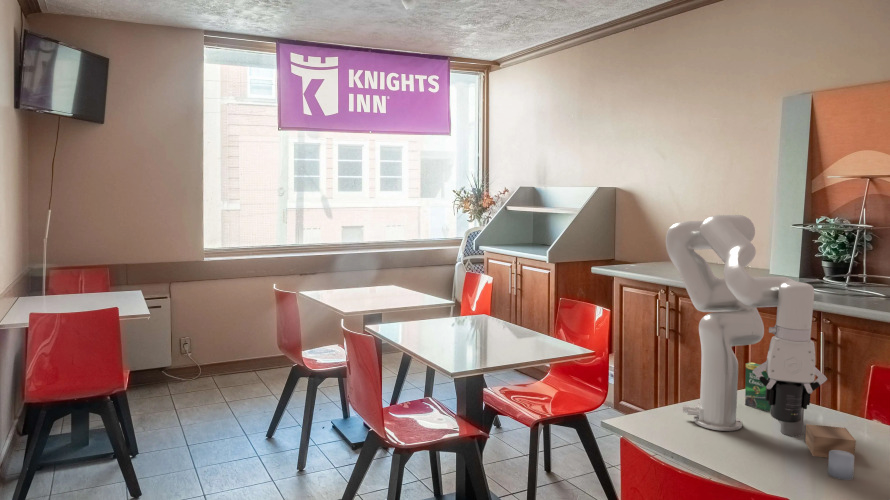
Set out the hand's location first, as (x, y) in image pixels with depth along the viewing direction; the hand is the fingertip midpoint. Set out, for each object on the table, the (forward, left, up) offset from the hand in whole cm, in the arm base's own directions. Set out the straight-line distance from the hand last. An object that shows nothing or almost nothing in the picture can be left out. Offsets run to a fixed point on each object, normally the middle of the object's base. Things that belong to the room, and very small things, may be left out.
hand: (786, 404), depth 162 cm
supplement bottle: (0, 0, -4) cm, 4 cm away
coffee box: (0, +40, -14) cm, 42 cm away
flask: (+6, +24, -14) cm, 28 cm away
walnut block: (+12, +8, -13) cm, 20 cm away
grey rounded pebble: (+11, -7, -13) cm, 18 cm away
